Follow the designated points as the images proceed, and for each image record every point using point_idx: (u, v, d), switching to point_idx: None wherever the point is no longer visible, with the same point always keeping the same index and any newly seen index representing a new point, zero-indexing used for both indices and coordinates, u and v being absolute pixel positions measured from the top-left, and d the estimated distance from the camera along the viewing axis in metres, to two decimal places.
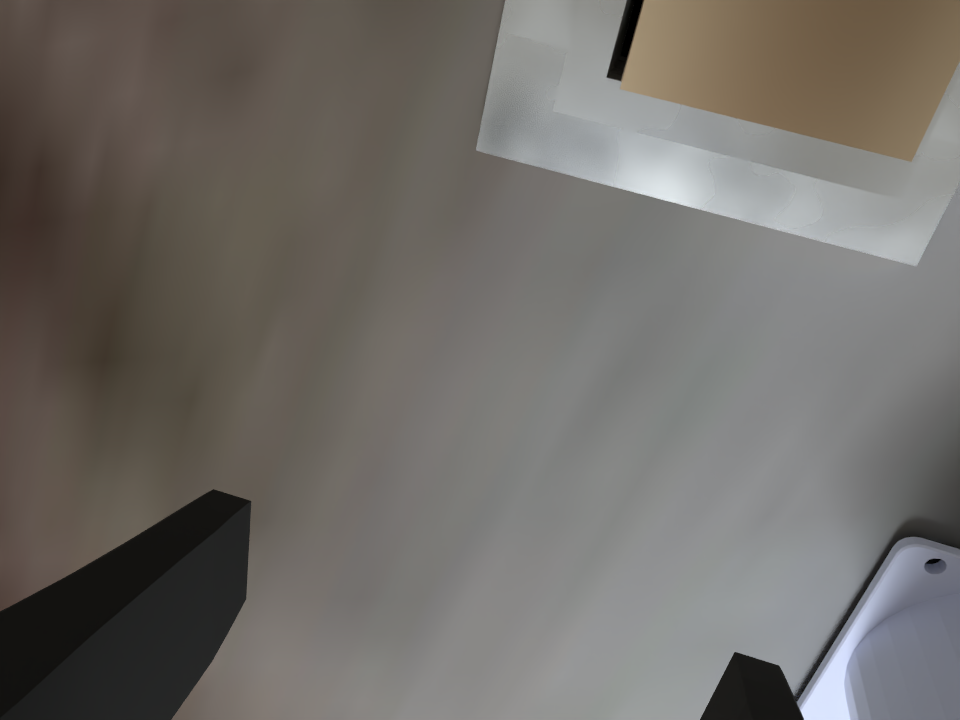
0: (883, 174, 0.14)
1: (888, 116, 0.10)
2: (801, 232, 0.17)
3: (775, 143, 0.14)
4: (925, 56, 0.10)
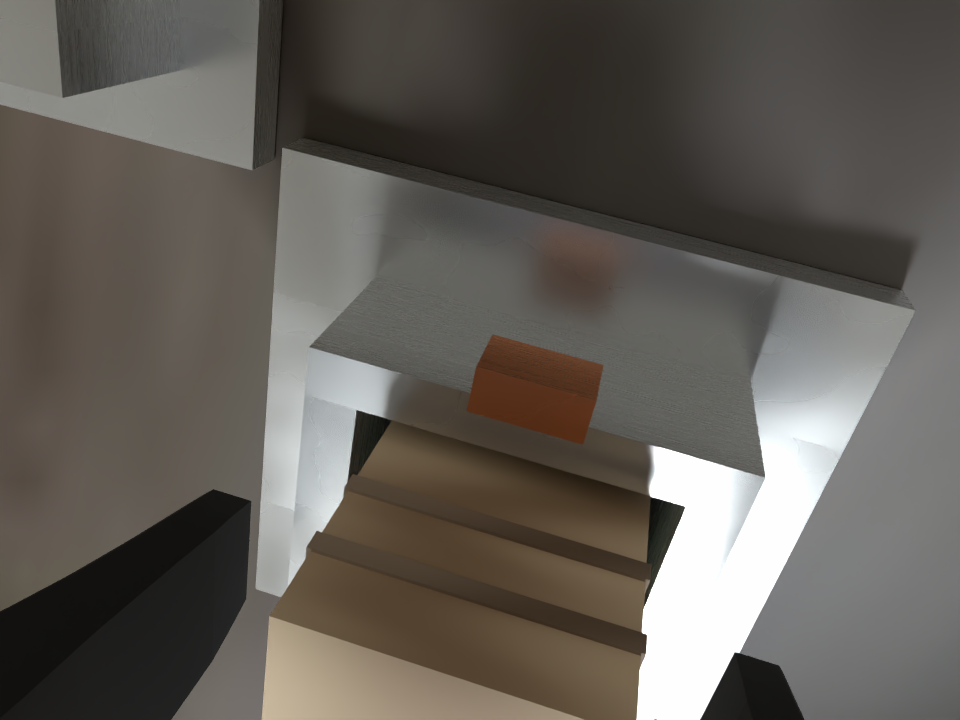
0: None
1: None
2: None
3: None
4: None
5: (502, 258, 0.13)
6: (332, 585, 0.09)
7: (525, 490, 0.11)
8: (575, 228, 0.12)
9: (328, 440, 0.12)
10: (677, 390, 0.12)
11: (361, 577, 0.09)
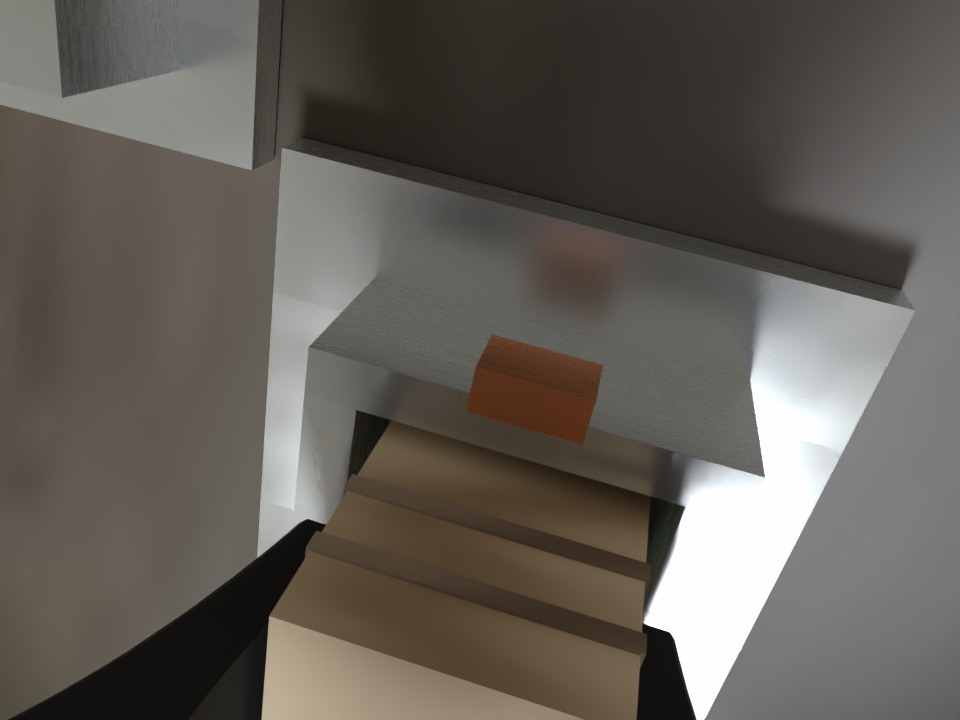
0: None
1: None
2: None
3: None
4: None
5: (502, 258, 0.13)
6: (332, 585, 0.09)
7: (525, 490, 0.11)
8: (575, 228, 0.12)
9: (328, 440, 0.12)
10: (677, 390, 0.12)
11: (361, 577, 0.09)
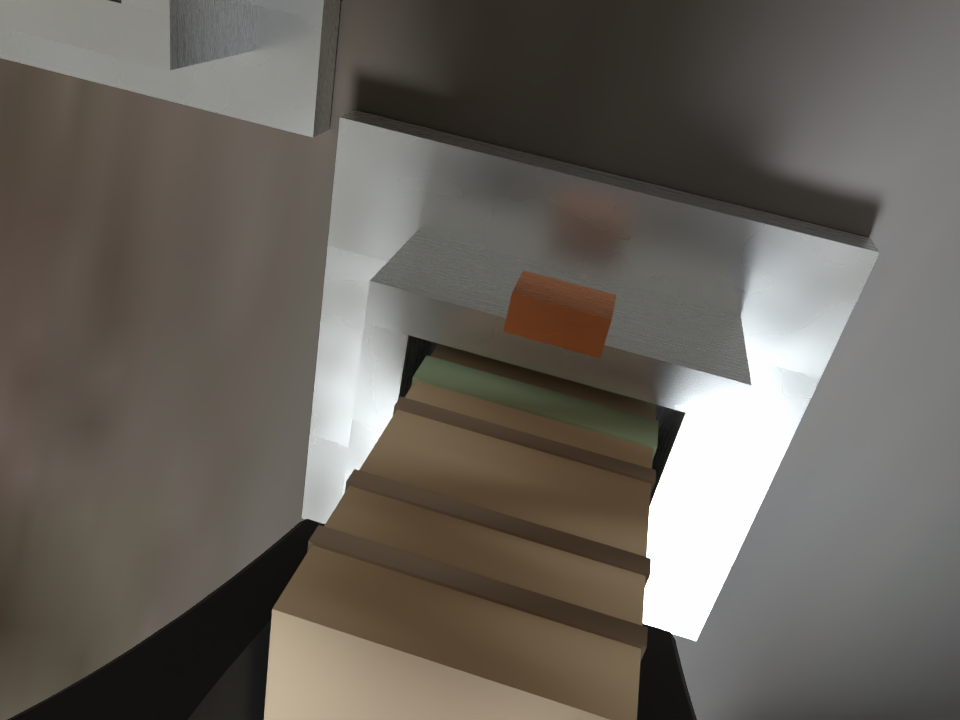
0: None
1: None
2: None
3: None
4: None
5: (528, 212, 0.15)
6: (334, 579, 0.09)
7: (526, 485, 0.11)
8: (591, 185, 0.14)
9: (383, 363, 0.14)
10: (678, 321, 0.14)
11: (363, 571, 0.09)
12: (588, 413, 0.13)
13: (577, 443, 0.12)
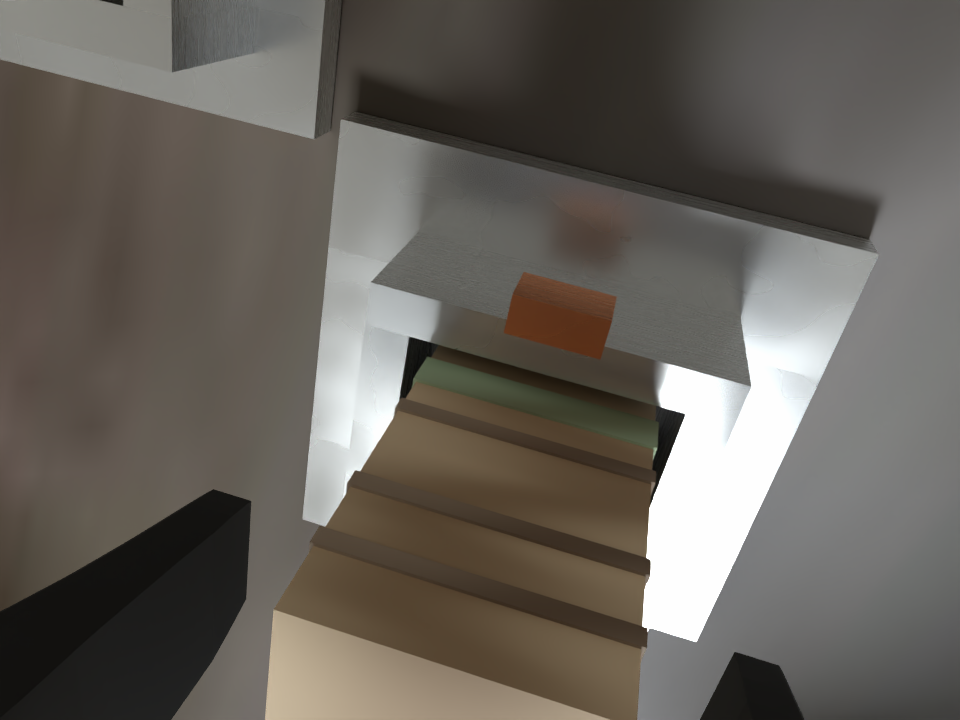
0: None
1: None
2: None
3: None
4: None
5: (528, 213, 0.15)
6: (335, 579, 0.09)
7: (526, 486, 0.11)
8: (591, 186, 0.14)
9: (383, 364, 0.14)
10: (678, 323, 0.14)
11: (364, 571, 0.09)
12: (588, 414, 0.13)
13: (577, 444, 0.12)
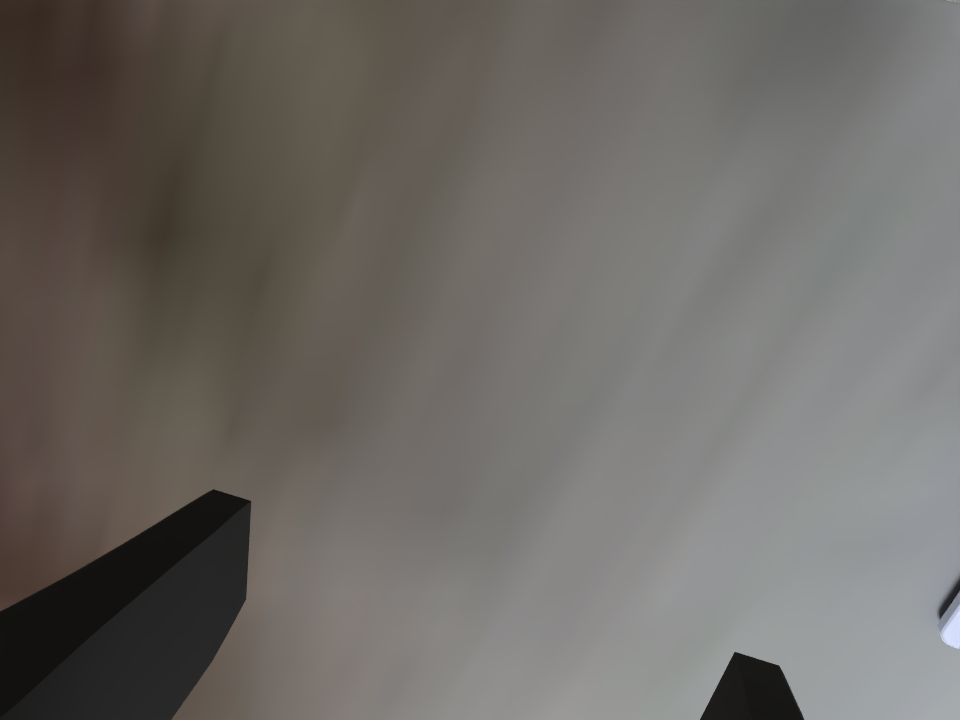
0: None
1: None
2: None
3: None
4: None
5: None
6: None
7: None
8: None
9: None
10: None
11: None
12: None
13: None
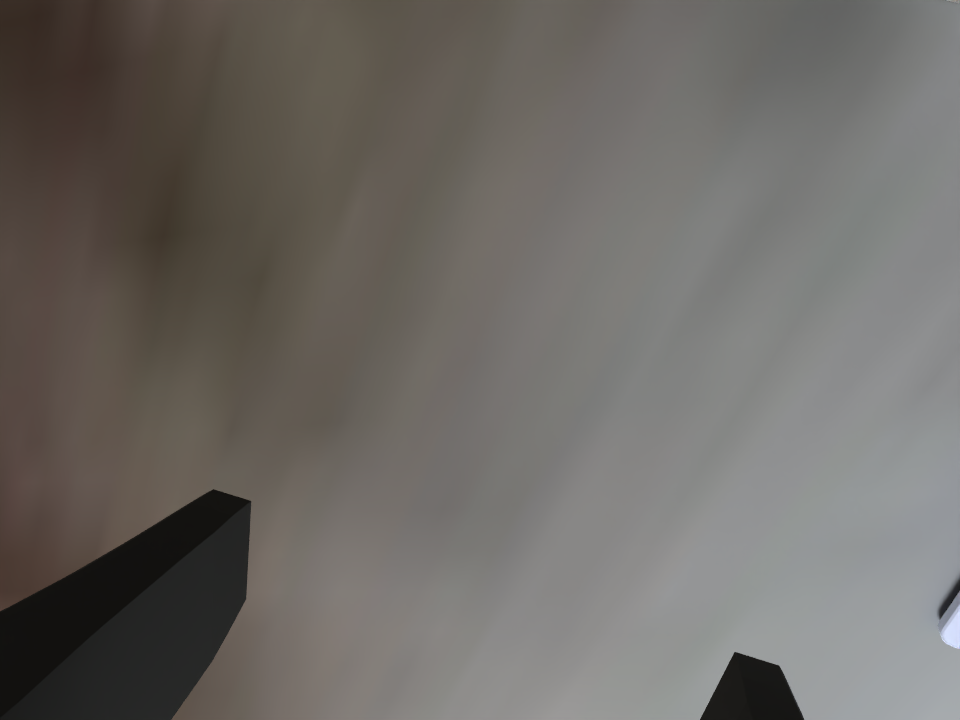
0: None
1: None
2: None
3: None
4: None
5: None
6: None
7: None
8: None
9: None
10: None
11: None
12: None
13: None
